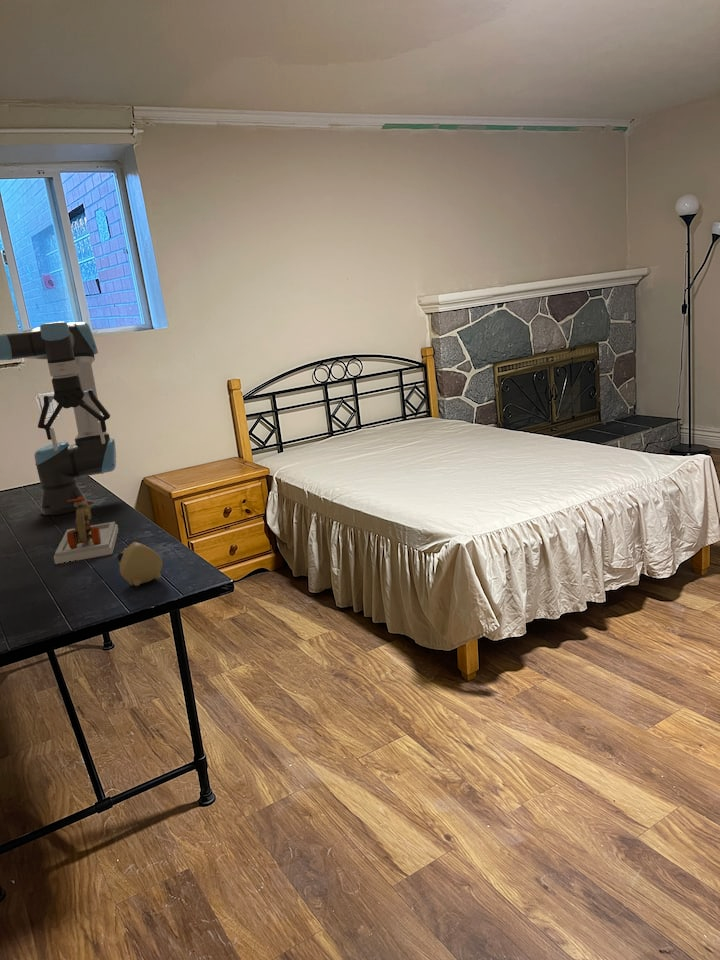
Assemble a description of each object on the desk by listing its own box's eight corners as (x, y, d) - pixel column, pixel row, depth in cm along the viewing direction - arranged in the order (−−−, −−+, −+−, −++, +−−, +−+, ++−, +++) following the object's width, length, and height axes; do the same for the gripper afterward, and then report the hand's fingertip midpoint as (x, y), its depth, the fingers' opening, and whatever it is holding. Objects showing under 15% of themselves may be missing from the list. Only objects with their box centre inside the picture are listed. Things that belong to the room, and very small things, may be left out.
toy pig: (154, 570, 178) (147, 530, 175) (171, 583, 168) (163, 541, 165) (116, 582, 172) (107, 541, 170) (130, 596, 163) (121, 553, 160)
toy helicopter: (69, 552, 193) (58, 504, 190) (76, 531, 212) (66, 487, 209) (100, 546, 195) (90, 499, 192) (104, 526, 215) (95, 483, 211)
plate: (67, 539, 213) (65, 529, 212) (118, 530, 216) (116, 521, 215) (55, 564, 191) (52, 554, 190) (112, 553, 194) (110, 543, 193)
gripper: (16, 383, 198) (33, 455, 204) (108, 371, 204) (122, 442, 210) (21, 380, 205) (38, 450, 211) (110, 369, 211) (123, 437, 217)
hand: (80, 446), depth 211 cm, fingers open, 13 cm apart
